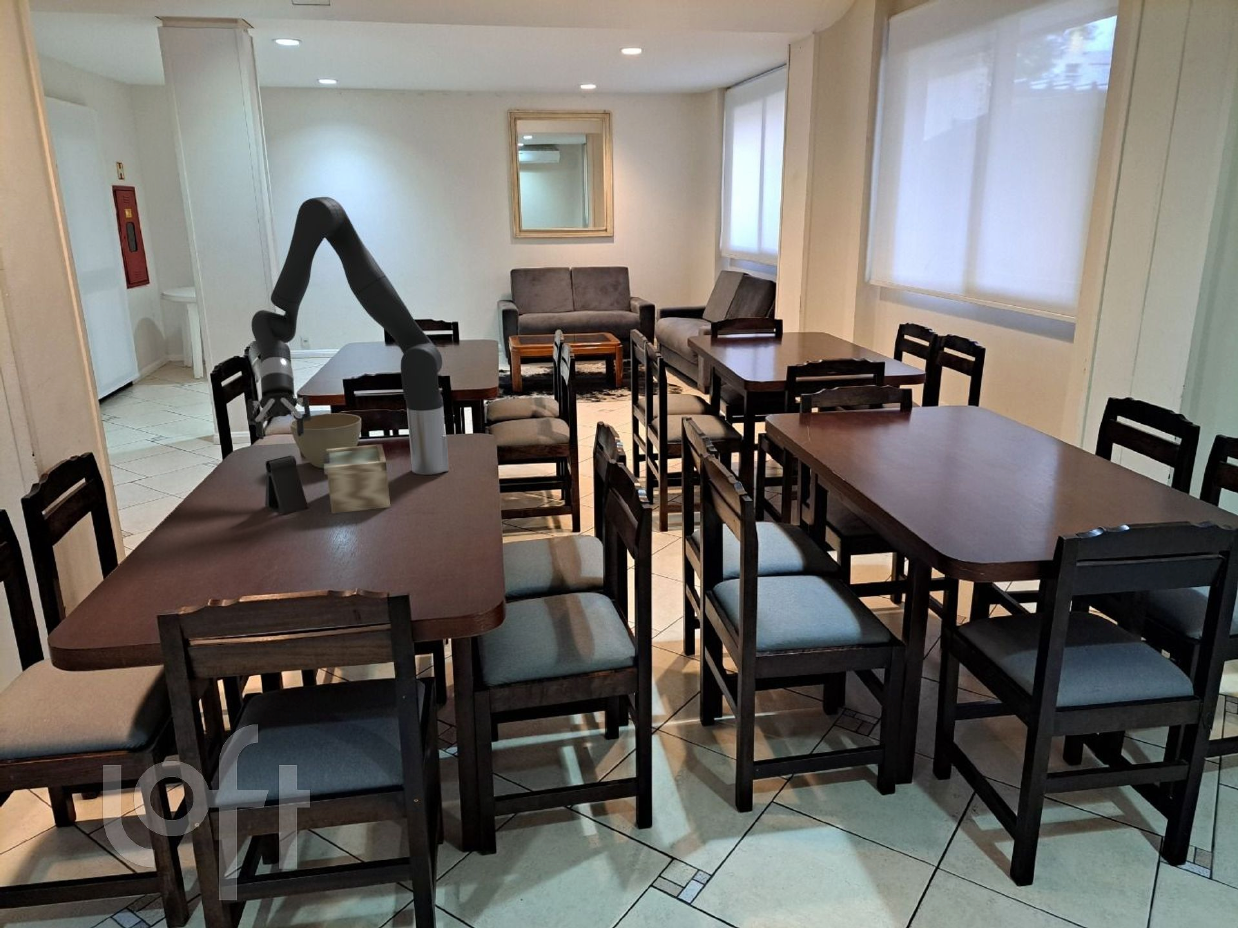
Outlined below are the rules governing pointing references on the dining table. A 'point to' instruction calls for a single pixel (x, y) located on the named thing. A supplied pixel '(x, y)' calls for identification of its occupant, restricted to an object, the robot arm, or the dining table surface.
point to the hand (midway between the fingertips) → (280, 436)
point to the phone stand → (284, 486)
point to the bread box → (357, 478)
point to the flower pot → (326, 435)
